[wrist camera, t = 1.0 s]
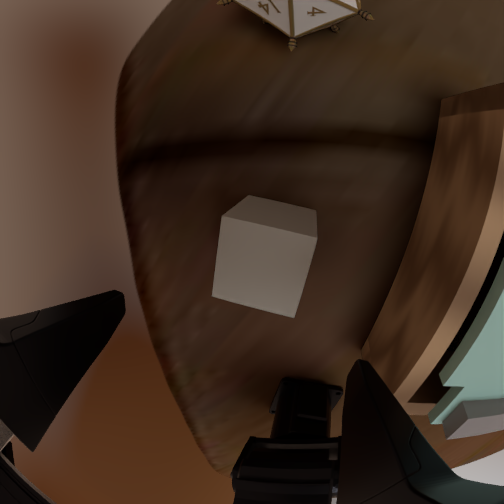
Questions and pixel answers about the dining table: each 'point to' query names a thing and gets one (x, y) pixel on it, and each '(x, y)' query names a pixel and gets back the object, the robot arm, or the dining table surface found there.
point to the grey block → (265, 254)
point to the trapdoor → (476, 373)
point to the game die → (302, 14)
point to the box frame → (444, 251)
